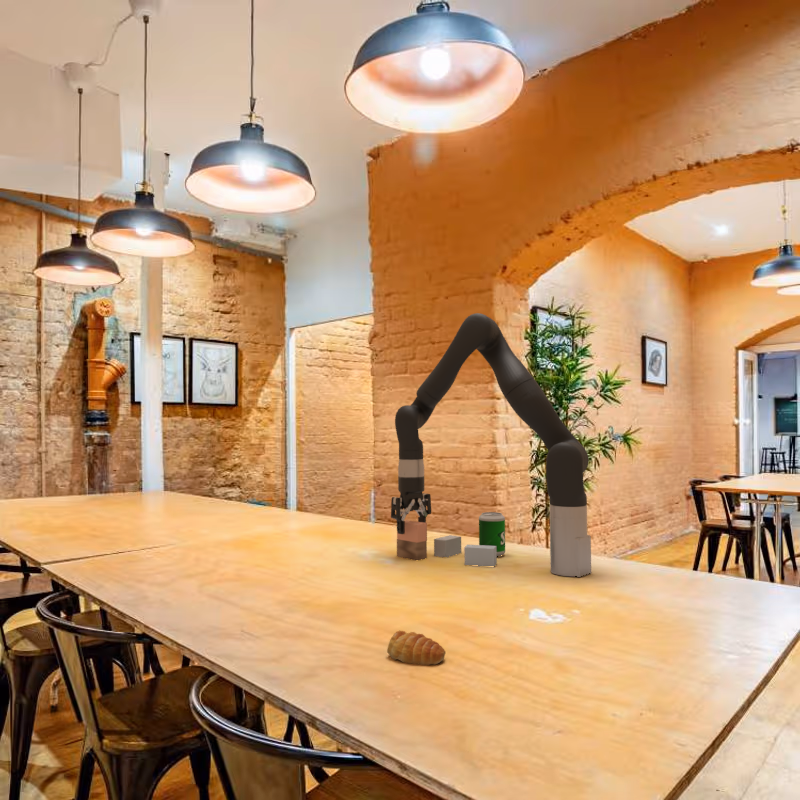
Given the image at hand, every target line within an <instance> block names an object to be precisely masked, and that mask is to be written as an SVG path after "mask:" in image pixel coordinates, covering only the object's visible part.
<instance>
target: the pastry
mask: <svg viewBox="0 0 800 800" xmlns="http://www.w3.org/2000/svg"><path fill="white" fill-rule="evenodd" d="M386 649H387V650H386V652H387V654H388V655H389V656H390V657H391V659H393V660H394V661H396V660H399V661H400V662H402V663H406V664H409V663H410V664H413V665H421V666H429V665H438V664H439V663H441V662H443V661H444V660H445V656H446V650H445V648H444V647H443V646H442V645H440V643H439V642H437V641H435V640H433V639H432V638H430V637H426V636H425V635H424V633H416V632H415V631H410V632H406V631H404V630H398V631H395V632H394V633H393V636H391V638H390V639H389V642H388V646H387V648H386Z"/></svg>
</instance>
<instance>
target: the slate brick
mask: <svg viewBox="0 0 800 800" xmlns="http://www.w3.org/2000/svg"><path fill="white" fill-rule="evenodd" d="M459 553H461V554H462V536H459V535H452V534H451V535H450V534H449V535H444V536H442V537H441V536H440V537H436V538H434V539H433V556H434V557H437V556H438V558H443V557H447V558H450V557H454V556H456V554H457V555H460V554H459ZM453 555H454V556H453ZM449 556H450V557H449Z"/></svg>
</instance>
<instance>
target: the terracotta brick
mask: <svg viewBox="0 0 800 800" xmlns="http://www.w3.org/2000/svg"><path fill="white" fill-rule="evenodd" d="M404 521H405V534H398V532H397V531H396V540H397V539H399V540H405V541H411V542H416V543H419V542H423V541H428V523H427V522H426V523H423V522H418V521H417V520H408V519H407V520H406V519H404Z"/></svg>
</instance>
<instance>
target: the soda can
mask: <svg viewBox="0 0 800 800" xmlns="http://www.w3.org/2000/svg"><path fill="white" fill-rule="evenodd" d="M478 545H486V546H496V549H497V556H501V555H504V554H506V517H505V516H504V515H503V513H501V512H495V511H488V512H487V511H486V512H482V513H481V514H480V515H479V516H478ZM501 557H502V556H501Z"/></svg>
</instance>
